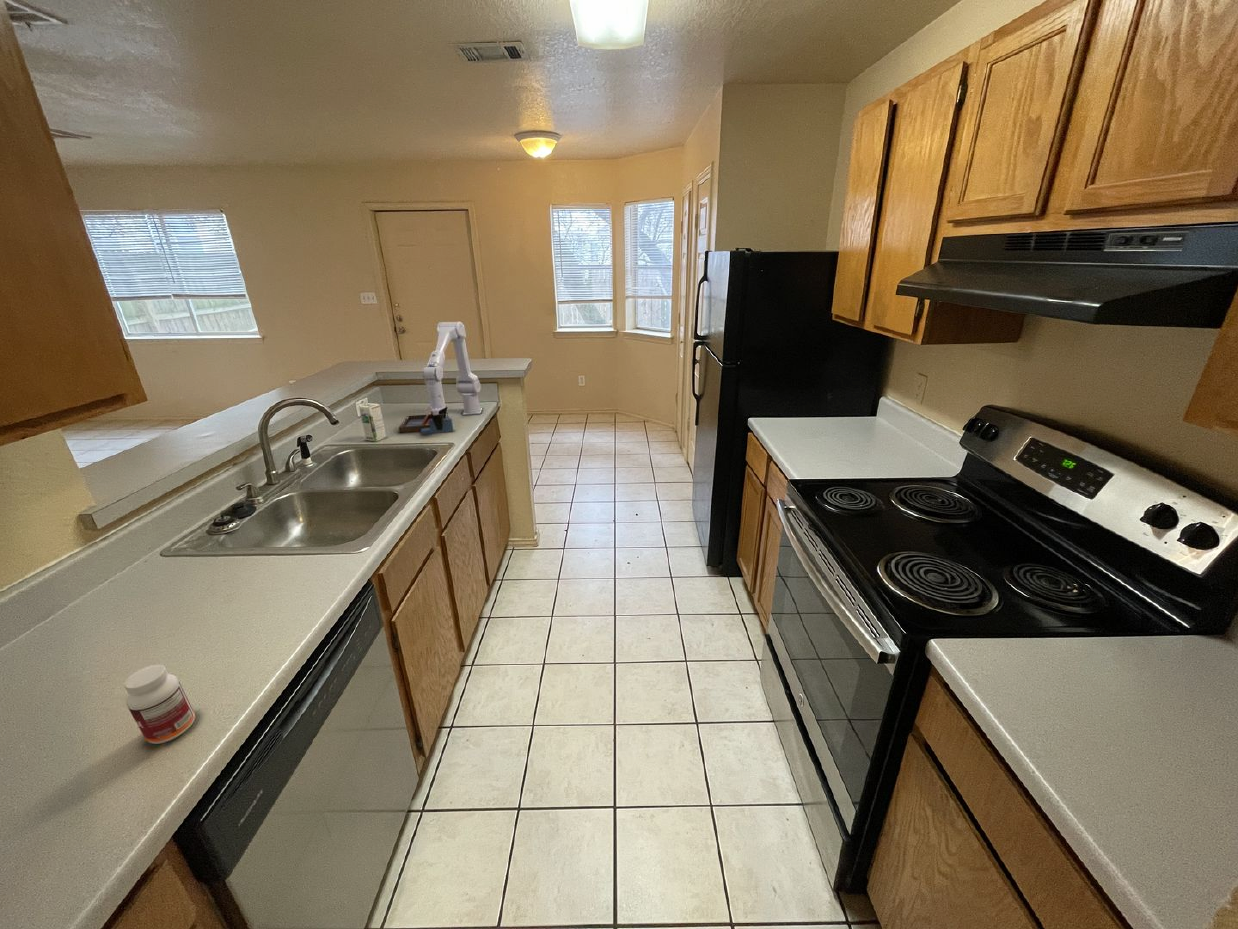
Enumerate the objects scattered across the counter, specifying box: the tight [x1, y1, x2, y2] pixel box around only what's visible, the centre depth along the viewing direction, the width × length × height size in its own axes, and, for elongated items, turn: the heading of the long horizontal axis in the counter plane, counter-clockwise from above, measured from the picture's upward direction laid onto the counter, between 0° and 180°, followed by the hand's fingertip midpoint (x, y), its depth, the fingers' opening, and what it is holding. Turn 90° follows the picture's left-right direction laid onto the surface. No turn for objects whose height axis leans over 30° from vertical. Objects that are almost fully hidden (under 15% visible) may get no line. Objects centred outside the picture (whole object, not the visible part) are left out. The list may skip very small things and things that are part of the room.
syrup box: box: [358, 402, 387, 442], centre depth 206 cm, size 6×6×14 cm
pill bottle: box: [123, 664, 196, 745], centre depth 78 cm, size 6×6×11 cm
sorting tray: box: [398, 412, 450, 434], centre depth 224 cm, size 17×18×2 cm
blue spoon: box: [420, 417, 454, 436], centre depth 213 cm, size 13×4×6 cm, turn 100°
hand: (441, 427), depth 213 cm, fingers open, 7 cm apart
